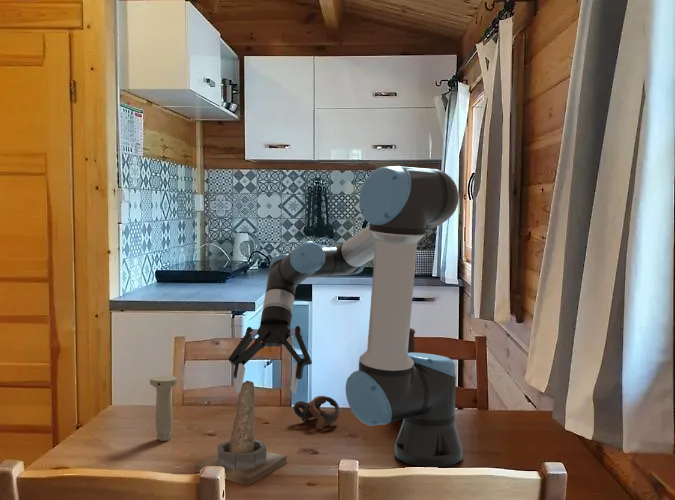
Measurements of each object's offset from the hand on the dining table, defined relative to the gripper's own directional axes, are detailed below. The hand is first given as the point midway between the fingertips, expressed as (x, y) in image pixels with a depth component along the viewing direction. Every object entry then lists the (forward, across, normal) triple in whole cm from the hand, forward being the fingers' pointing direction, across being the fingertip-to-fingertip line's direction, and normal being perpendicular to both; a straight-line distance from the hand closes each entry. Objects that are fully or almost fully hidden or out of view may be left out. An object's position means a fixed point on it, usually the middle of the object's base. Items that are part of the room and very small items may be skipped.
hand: (265, 391), depth 153 cm
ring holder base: (+18, +2, +2) cm, 18 cm away
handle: (+9, +26, -7) cm, 29 cm away
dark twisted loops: (-1, -7, -24) cm, 25 cm away
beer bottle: (-6, -29, -34) cm, 45 cm away
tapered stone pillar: (+17, +2, +3) cm, 17 cm away
